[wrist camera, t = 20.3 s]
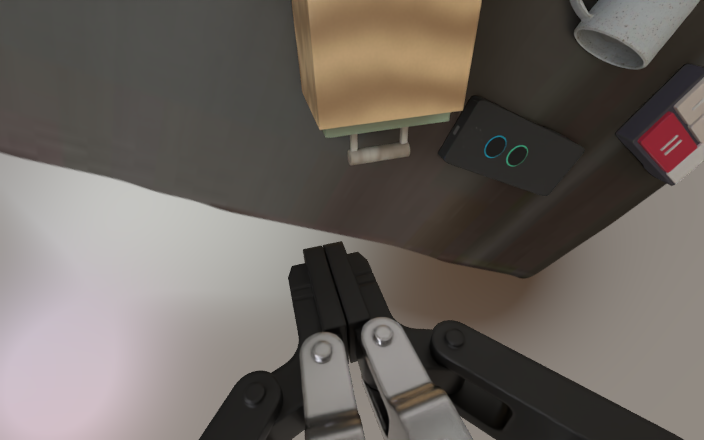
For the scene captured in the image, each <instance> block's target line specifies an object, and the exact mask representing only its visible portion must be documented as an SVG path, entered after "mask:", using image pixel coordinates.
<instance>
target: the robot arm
mask: <svg viewBox="0 0 704 440" xmlns="http://www.w3.org/2000/svg"><path fill="white" fill-rule="evenodd" d="M303 254H304V260H305V263H304V264H299V265H295V266H292V267H291V271H290V274H289V277H288V280H289V285H290V291H291V296H292V302H293V308H294V313H295V319H296V324H297V330H298V336H299V344H298V348H297V350H296V352H295V354H294V356H293V357H292V358H291V359H290V360H289V361H288V362H287V363H286V364H284V365H283V366H281V367H280V368H278V369H277V370H275V371H273V372H272V373H270V372H267V371H255V372H251V373H249V374H247V375H245V376H244V377H242V378H241V379H240V380H239V381H238V382H237V383H236V385H235V386H234V387H233V389H232V390H231V392H230V393H229V395H228V396H227V398H226V400H225V401H224V403H223V404H222V406H221V407H220V408H219V410H218V412H217V413H216V415H215V416H214V417H213V419H212V420H211V422H210V423H209V425H208V427H207V428H206V430H205V431H204V433H203V434H202V436H201V437H200V439H199V440H292V438H294V437H295V436H296V435H298V434H299V433H301V432H302V431H303V430H305V440H365V436H364V431H363V427H362V423H361V419H360V416H359V414H358V410H357V405H356V400H355V395H354V391H353V385H352V380H351V376H350V371H349V366H348V364H349V359H350V362H351V363H353V362H356V361H358V364H359V366H360V370H361V375H362V384H363V387H364V389H365V392H366V394H367V397H368V400H369V402H370V405H371V407H372V410H373V412H374V415H375V418H376V420H377V423H378V425H379V428H380V430H381V433H382V436H383V438H384V440H473V438H472V437H471V435H470V433H469V431H468V430H467V428H466V426H465V425H464V423H463V421H462V419H461V417H462V418H464V419H465V420H467V421H469V422H470V423H472V424H473V425H475V426H476V427H478V428H479V429H481V430H482V431H484V432H485V433H487V434H488V435H490V436H491V437H493V438H495V439H496V440H683V439H682V438H680V437H678V436H676V435H675V434H673V433H671V432H669V431H667V430H665V429H664V428H661V427H660V426H658V425H656V424H654V423H652V422H650V421H648V420H646V419H644V418H642V417H641V416H639V415H637V414H635V413H633V412H631V411H629V410H627V409H625V408H623V407H621V406H620V405H618V404H616V403H614V402H612V401H610V400H608V399H606V398H604V397H602V396H600V395H598V394H597V393H595V392H593V391H591V390H589V389H587V388H585V387H583V386H581V385H579V384H577V383H576V382H574V381H572V380H570V379H568V378H566V377H564V376H562V375H560V374H558V373H556V372H555V371H553V370H550V369H549V368H546V367H545V366H543V365H541V364H539V363H537V362H535V361H533V360H532V359H530V358H527V357H526V356H524V355H522V354H520V353H518V352H516V351H514V350H512V349H511V348H509V347H507V346H505V345H503V344H501V343H499V342H497V341H495V340H493V339H491V338H489V337H487V336H486V335H484V334H481V333H480V332H478V331H476V330H474V329H472V328H470V327H468V326H467V325H465V324H463V323H460V322H458V321H452V320H448V321H443V322H440V323H438V324H437V325H436V326H435V327H434V329H433V330H430V329H414V328H409V327H406V326H403V325H402V324H400V323H399V322H397V321H396V320H395V319H394V318H393V316H392V315H391V313H390V311H389V309H388V306H387V304H386V302H385V300H384V297H383V295H382V293H381V291H380V288H379V286H378V284H377V282H376V279H375V277H374V275H373V273H372V270H371V268H370V265H369V263H368V261H367V259H365V258H364V257H363V256H362V255H361V254H360V253H359V252H355V253H350V254H347V253H346V250H345V248H344V245H343V243H342V241H341V242H336V243H331V244H326V245H323V247H322V246H317V247H312V248H307V249H303ZM348 355H349V357H348ZM460 416H461V417H460Z"/></svg>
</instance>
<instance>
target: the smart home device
mask: <svg viewBox="0 0 704 440" xmlns="http://www.w3.org/2000/svg"><path fill="white" fill-rule="evenodd" d="M584 151H585V150H584V148H583V147H581V146H580V145H578V144H576V143H574V142H573V141H570V139H568V138H567V137H565V136H562V135H560V134H558V133H556V132H554V131H552V130H550V129H548V128H546V127H544V126H543V127H541V126H539V125H537V124H535V123H533V122H531V121H529V120H527V119H525V118H523V117H521V116H519V115H517V114H515V113H512V112H510V111H508V110H506V109H504V108H502V107H500V106H498V105H496V104H494V103H492V102H490V101H488V100H486V99H483V98H481V97H479V96H473V97H471V99H470V100H469V102H468V104H467V105H466V107H465V109H464V110H463V112H462V114H461V115H460V117H459V119H458V120H457V122H456V124H455V125H454V127H453V129H452V130H451V132H450V134H449V135H448V137H447V139H446V140H445V142H444V144H443V145H442V147H441V149H440V150H439V152H438V154H439V156H440V157H441V158H442V159H443V160H444V161H445V162H447V163H448V164H451V165H454V166H457V167H460V168H463V169H466V170H468V171H471V172H474V173H477V174H480V175H483V176H486V177H489V178H492V179H495V180H498V181H500V182H503V183H506V184H509V185H512V186H515V187H518V188H521V189H524V190H526V191H530V192H532V193H535V194H538V195H541V196H548V195H549V194H550V193H551V192H552V190H553V189H554V188H555V187H556V186H557V184H558V183H559V182H560V181H561V180H562V178H563V177H564V176H565V175H566V174H567V172H568V171H569V170H570V169H571V168H572V166H573V165H574V164H575V163H576V161H577V160H578V159H579V158H580V157H581V155H582V154H583V153H584Z"/></svg>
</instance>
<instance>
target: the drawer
mask: <svg viewBox="0 0 704 440" xmlns="http://www.w3.org/2000/svg"><path fill="white" fill-rule="evenodd" d="M449 118H450V112H448V113H441V114H433V115H426V116H419V117H411V118H404V119H397V120H389V121H382V122H375V123H368V124H360V125H353V126H346V127H338V128H331V129H324V130H322V131H323V133H324V135H325V137H326V138H332V137H339V136H346V135H350V149H351V150H348V153H347V155H348V161H349V164H350V165H357V164H363V163H370V162H376V161H382V160H388V159H395V158H401V157H407V156H409V155H410V146H409V143H408V142H407V137H408V127H410V126H417V125H424V124H431V123H438V122H445V121H449ZM395 128H400V142H397V143H391V144H384V145H377V146H371V147H364V148H358V143H357V134H360V133H367V132H374V131H381V130H388V129H395Z"/></svg>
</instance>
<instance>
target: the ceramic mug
mask: <svg viewBox="0 0 704 440" xmlns="http://www.w3.org/2000/svg"><path fill="white" fill-rule="evenodd" d="M699 1H700V0H598V2H597V3H596V4H595V5H594V6H593V7H592V9H591V10H590V11H589V12H588V11H587V9H586V7H585V5H584V3H583V1H582V0H570V3H571V6H572V7H573V9H574V11H575V13H576V14H577V16H578V17H579V18H580V19H581V22H580V23H579V24H578V26H577V27H576V29H575V30H574V36H575V39H576V40H577V42H578V43H579V44H580V45H581V46H582V47H583V48H584V49H585V50H587V51H588V52H589V53H591V54H592V55H594V56H595V57H597V58H599V59H601V60H602V61H605V62H608V63H610V64H612V65H616V66H619V67H623V68H627V69H641V68H644V67H646V66H647V65H648V64H649V63H650V62H651V60H652V59H653V58H654V57H655V55H656V54H657V53H658V51H659V50H660V49H661V48H662V47H663V45H664V44H665V43H666V42H667V41H668V40H669V38H670V37H671V36H672V35H673V33H674V32H675V31H676V30H677V28H678V27H679V26H680V25H681V23H682V22H683V21H684V20H685V19H686V17H687V16H688V15H689V14H690V13H691V11H692V10H693V9H694V7H695V6H696V5H697V4H698V2H699Z"/></svg>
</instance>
